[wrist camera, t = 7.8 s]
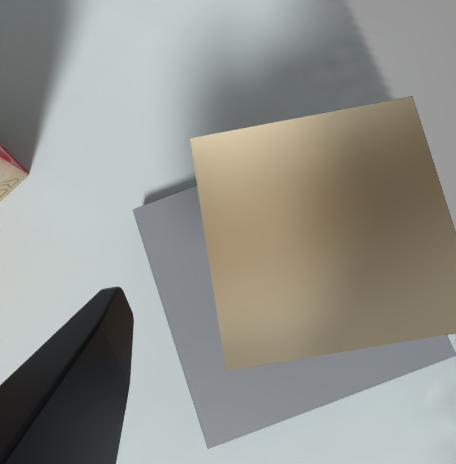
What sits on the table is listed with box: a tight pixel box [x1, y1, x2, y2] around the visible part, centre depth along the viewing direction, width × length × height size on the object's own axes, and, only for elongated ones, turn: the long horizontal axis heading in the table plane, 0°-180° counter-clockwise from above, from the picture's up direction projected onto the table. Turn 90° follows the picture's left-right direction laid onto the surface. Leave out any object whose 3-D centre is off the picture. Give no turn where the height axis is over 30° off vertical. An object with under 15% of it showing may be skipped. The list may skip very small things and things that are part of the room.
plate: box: [133, 186, 456, 449], centre depth 18 cm, size 12×12×1 cm
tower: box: [190, 96, 456, 371], centre depth 12 cm, size 4×4×11 cm
